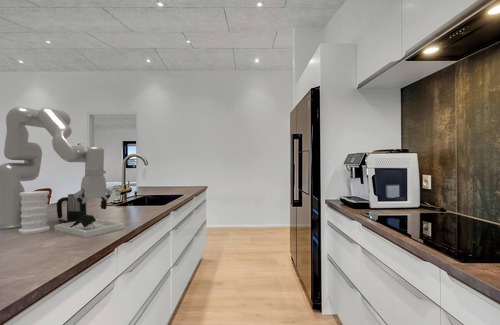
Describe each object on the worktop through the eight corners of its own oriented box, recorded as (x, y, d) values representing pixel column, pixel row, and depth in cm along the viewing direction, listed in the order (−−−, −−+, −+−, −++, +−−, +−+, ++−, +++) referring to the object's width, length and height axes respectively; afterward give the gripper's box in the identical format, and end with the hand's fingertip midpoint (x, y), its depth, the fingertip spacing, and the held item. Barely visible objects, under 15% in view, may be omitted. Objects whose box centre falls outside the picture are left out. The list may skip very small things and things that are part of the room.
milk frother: (85, 219, 156) (85, 192, 156) (92, 223, 145) (92, 195, 145) (54, 223, 147) (54, 194, 147) (59, 228, 135) (59, 197, 135)
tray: (54, 230, 130) (54, 225, 130) (92, 223, 146) (92, 218, 146) (86, 237, 117) (86, 231, 117) (124, 228, 133) (124, 223, 133)
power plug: (72, 225, 134) (92, 210, 134) (81, 238, 134) (101, 223, 134) (64, 228, 129) (85, 213, 128) (73, 241, 128) (94, 226, 128)
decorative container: (47, 226, 138) (47, 190, 138) (52, 230, 129) (52, 192, 129) (17, 231, 129) (17, 192, 129) (20, 235, 121) (20, 194, 121)
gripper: (107, 172, 139) (106, 207, 139) (70, 173, 124) (69, 212, 124) (116, 173, 135) (115, 208, 135) (79, 174, 120) (78, 214, 120)
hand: (93, 210), depth 130 cm, fingers open, 9 cm apart
